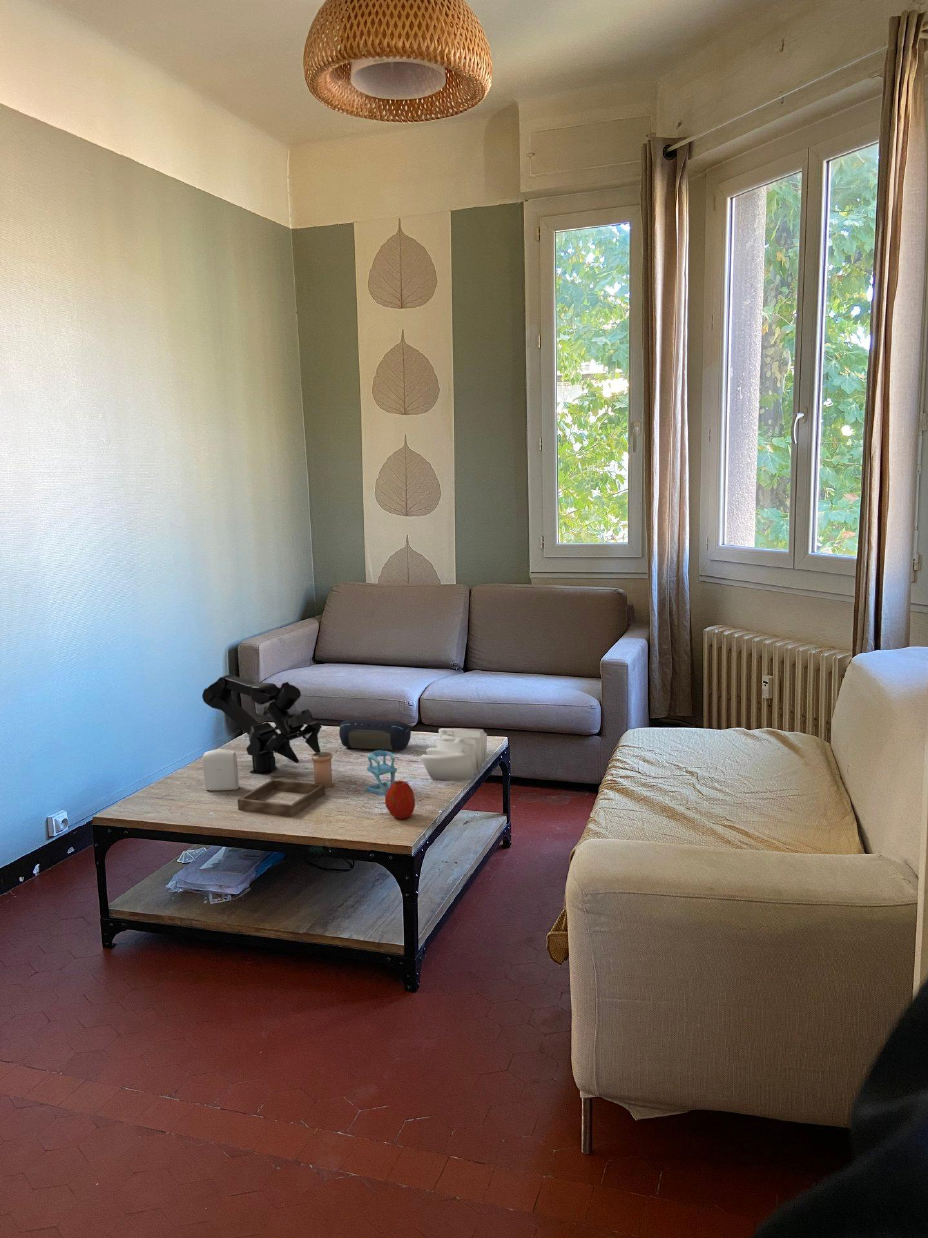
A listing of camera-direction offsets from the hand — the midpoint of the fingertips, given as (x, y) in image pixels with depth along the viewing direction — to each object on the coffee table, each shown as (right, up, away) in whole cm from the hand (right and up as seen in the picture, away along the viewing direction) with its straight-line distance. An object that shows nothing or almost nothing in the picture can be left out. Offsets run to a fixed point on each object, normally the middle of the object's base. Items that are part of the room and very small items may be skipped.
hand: (309, 758), depth 274 cm
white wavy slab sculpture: (+45, -5, +12) cm, 47 cm away
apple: (+30, -12, -28) cm, 43 cm away
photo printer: (-26, -9, -2) cm, 28 cm away
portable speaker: (+17, -2, +34) cm, 38 cm away
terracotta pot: (+5, -8, -2) cm, 10 cm away
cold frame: (-5, -10, -14) cm, 18 cm away
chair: (+23, -9, -7) cm, 26 cm away
